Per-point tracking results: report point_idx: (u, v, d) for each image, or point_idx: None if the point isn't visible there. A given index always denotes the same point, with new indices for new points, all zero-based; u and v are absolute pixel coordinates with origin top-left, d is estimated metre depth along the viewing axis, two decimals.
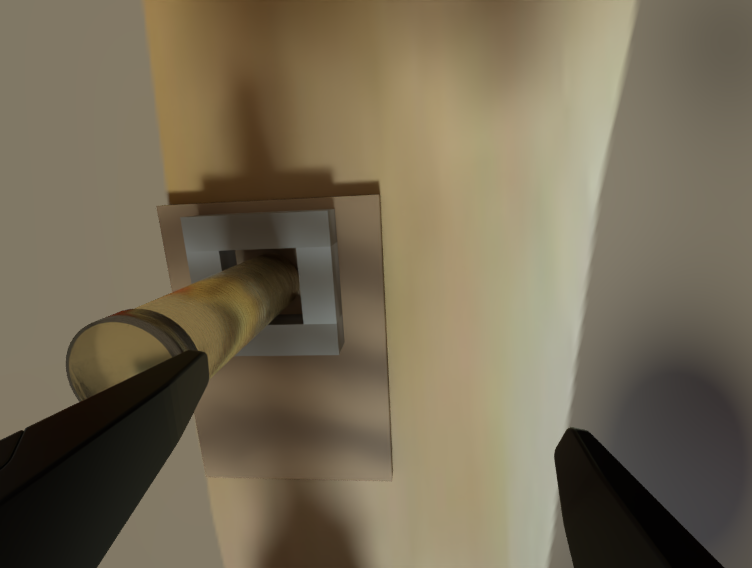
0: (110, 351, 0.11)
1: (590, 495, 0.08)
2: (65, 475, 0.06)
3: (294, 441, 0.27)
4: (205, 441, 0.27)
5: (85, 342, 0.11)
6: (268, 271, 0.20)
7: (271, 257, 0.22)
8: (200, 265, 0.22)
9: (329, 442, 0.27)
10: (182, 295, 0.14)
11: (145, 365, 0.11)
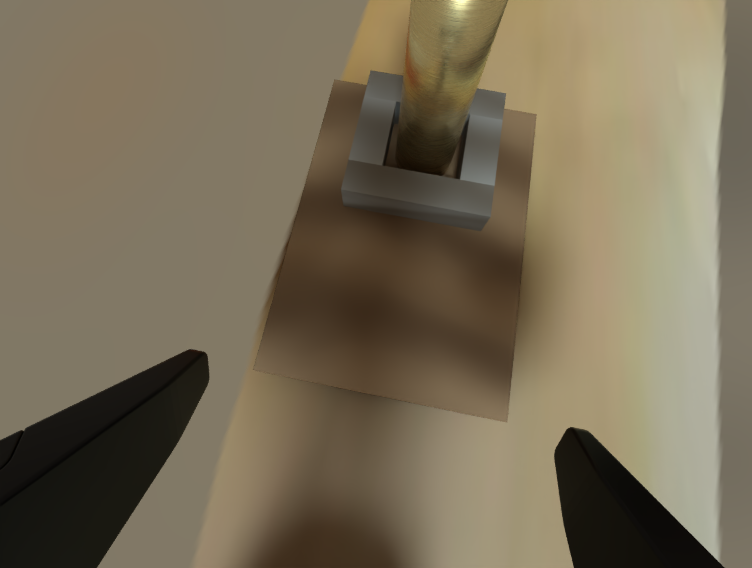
0: None
1: (590, 495, 0.08)
2: (65, 475, 0.06)
3: (391, 338, 0.21)
4: (276, 317, 0.21)
5: None
6: None
7: None
8: (373, 108, 0.23)
9: (436, 348, 0.21)
10: None
11: None
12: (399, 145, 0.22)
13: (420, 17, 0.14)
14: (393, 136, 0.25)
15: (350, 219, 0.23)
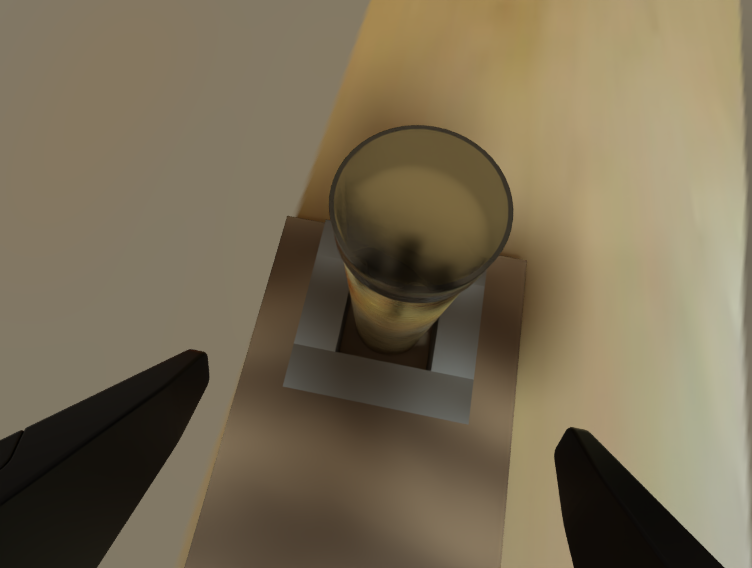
0: (415, 164, 0.08)
1: (590, 495, 0.08)
2: (65, 475, 0.06)
3: None
4: (200, 548, 0.17)
5: (383, 146, 0.08)
6: None
7: None
8: (327, 272, 0.19)
9: None
10: None
11: (459, 192, 0.08)
12: (356, 325, 0.18)
13: (353, 284, 0.10)
14: None
15: (298, 406, 0.19)
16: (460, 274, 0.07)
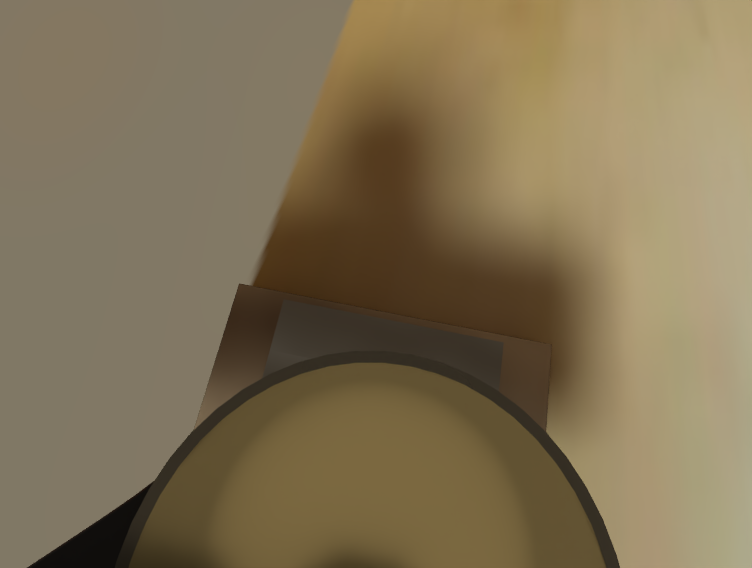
0: (357, 478, 0.03)
1: None
2: None
3: None
4: None
5: (276, 419, 0.03)
6: None
7: None
8: None
9: None
10: None
11: None
12: None
13: None
14: None
15: None
16: None
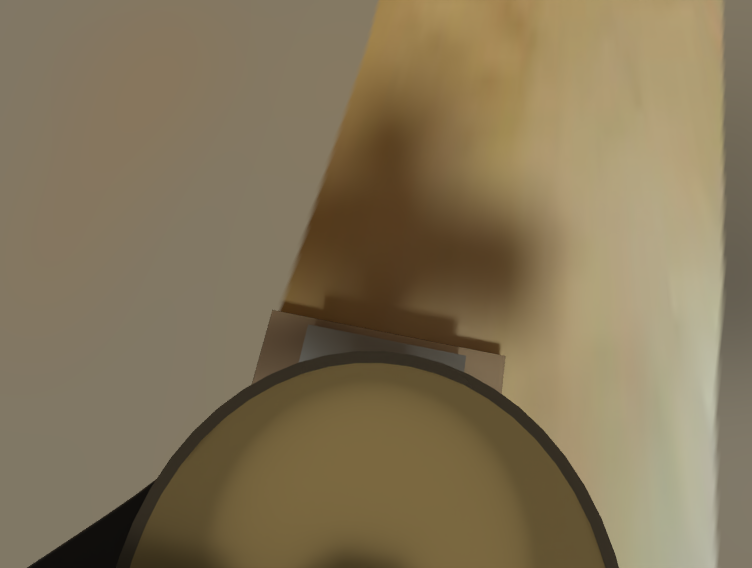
0: (357, 478, 0.03)
1: None
2: None
3: None
4: None
5: (276, 419, 0.03)
6: None
7: None
8: None
9: None
10: None
11: None
12: None
13: None
14: None
15: None
16: None
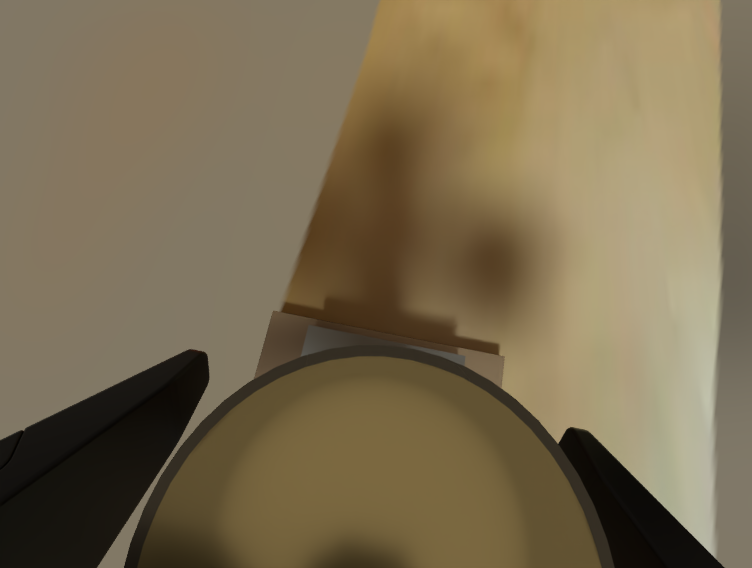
0: (359, 466, 0.03)
1: (590, 495, 0.08)
2: (65, 475, 0.06)
3: None
4: None
5: (281, 410, 0.03)
6: None
7: None
8: None
9: None
10: None
11: (476, 559, 0.03)
12: None
13: None
14: None
15: None
16: None
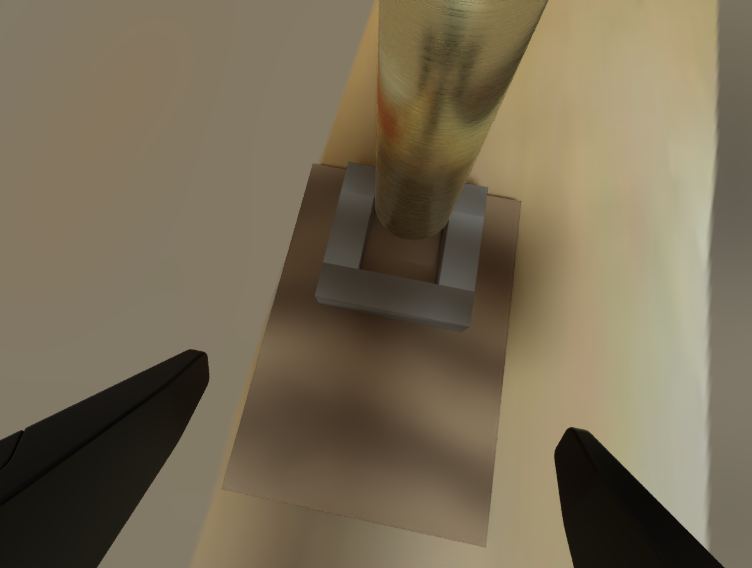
0: None
1: (590, 495, 0.08)
2: (65, 475, 0.06)
3: (366, 453, 0.20)
4: (247, 429, 0.21)
5: None
6: None
7: None
8: (350, 204, 0.22)
9: (412, 463, 0.20)
10: None
11: None
12: (378, 195, 0.16)
13: (394, 8, 0.08)
14: (372, 226, 0.24)
15: (326, 319, 0.22)
16: None
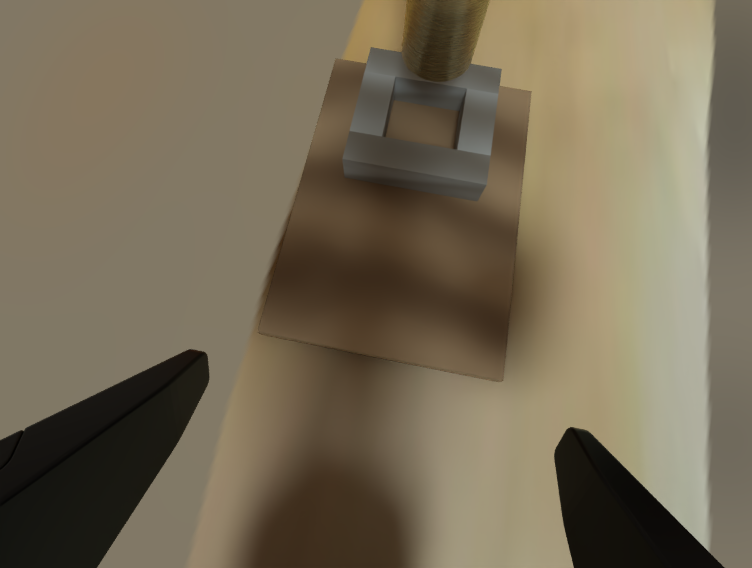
0: None
1: (590, 495, 0.08)
2: (65, 475, 0.06)
3: (391, 302, 0.22)
4: (279, 282, 0.22)
5: None
6: None
7: None
8: (373, 83, 0.24)
9: (434, 311, 0.22)
10: None
11: None
12: (408, 26, 0.17)
13: None
14: (392, 112, 0.26)
15: (351, 190, 0.24)
16: None
